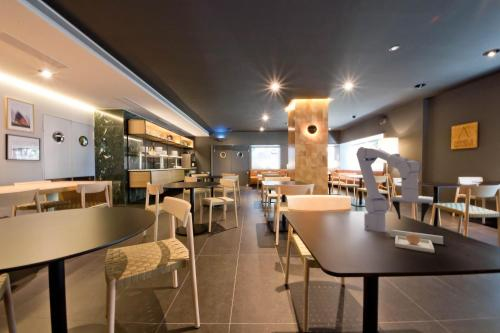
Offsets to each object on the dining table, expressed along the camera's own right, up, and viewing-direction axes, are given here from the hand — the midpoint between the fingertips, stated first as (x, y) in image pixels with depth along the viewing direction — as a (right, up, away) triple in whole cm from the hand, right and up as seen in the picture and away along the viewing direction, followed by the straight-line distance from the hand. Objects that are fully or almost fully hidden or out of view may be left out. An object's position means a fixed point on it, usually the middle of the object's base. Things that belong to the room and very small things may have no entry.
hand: (410, 219), depth 89 cm
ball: (-2, -7, -4) cm, 8 cm away
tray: (-2, -9, -4) cm, 10 cm away
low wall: (+4, -9, +2) cm, 10 cm away
